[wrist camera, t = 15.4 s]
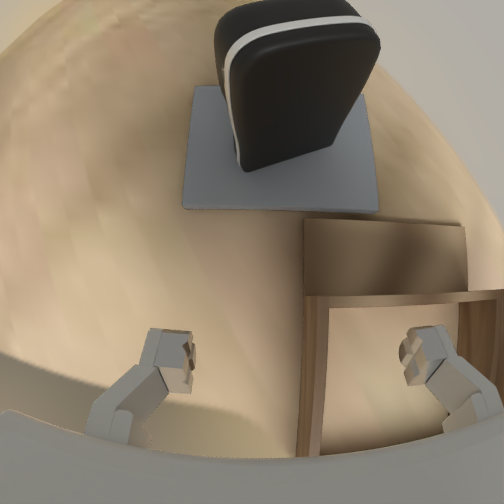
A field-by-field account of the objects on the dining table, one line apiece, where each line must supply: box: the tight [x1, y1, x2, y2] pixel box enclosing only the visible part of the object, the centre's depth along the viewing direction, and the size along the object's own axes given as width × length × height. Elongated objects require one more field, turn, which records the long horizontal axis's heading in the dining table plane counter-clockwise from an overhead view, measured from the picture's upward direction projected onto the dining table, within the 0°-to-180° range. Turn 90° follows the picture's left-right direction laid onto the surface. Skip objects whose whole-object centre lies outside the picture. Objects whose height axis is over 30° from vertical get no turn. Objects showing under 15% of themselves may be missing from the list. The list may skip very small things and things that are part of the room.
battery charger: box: [214, 0, 381, 173], centre depth 15 cm, size 7×4×11 cm, turn 111°
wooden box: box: [296, 218, 504, 457], centre depth 13 cm, size 14×20×12 cm
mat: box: [182, 85, 379, 214], centre depth 21 cm, size 13×10×1 cm
